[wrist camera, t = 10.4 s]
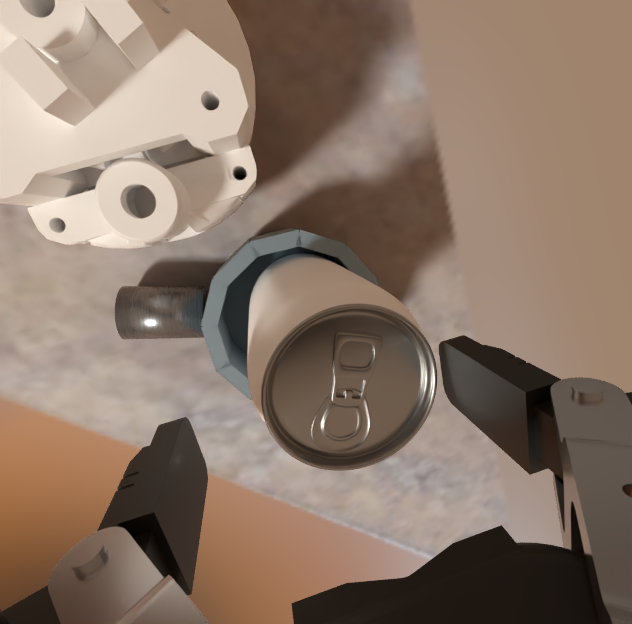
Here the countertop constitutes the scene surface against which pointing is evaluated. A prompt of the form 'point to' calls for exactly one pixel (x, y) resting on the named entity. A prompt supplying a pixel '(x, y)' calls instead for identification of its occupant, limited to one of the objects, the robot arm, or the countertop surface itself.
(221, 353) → the collar
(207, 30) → the mechanical part
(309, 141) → the countertop surface
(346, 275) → the can
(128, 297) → the shaft
